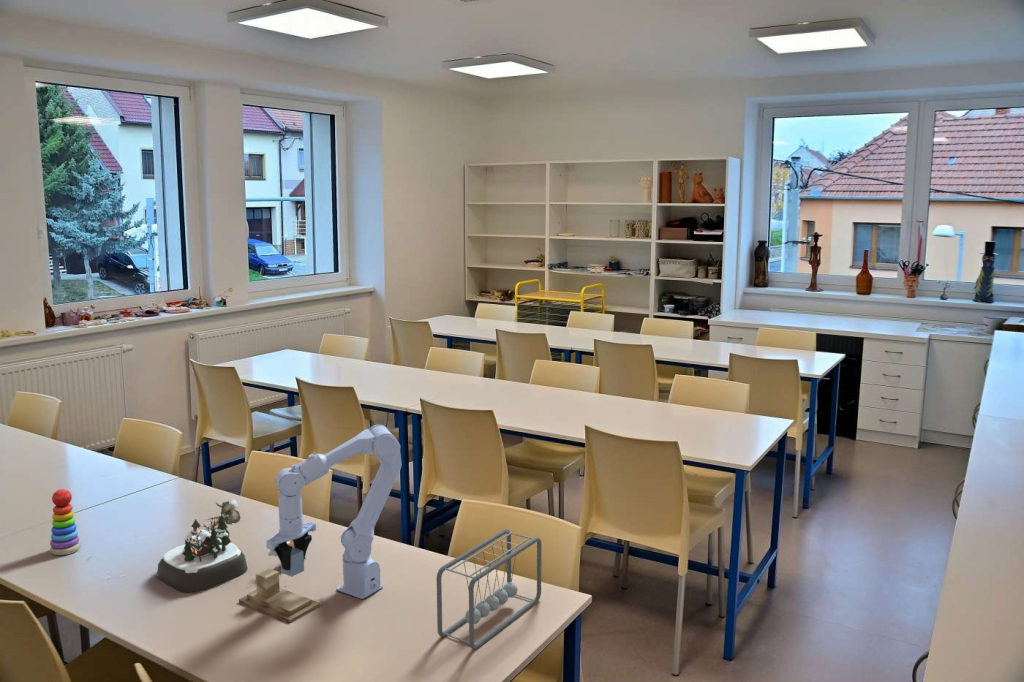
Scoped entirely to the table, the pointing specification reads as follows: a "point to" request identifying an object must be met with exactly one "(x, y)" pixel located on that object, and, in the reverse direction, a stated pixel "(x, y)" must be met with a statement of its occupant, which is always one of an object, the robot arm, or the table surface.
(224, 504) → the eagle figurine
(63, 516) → the stacking toy
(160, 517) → the table surface
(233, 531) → the table surface
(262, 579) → the brass block
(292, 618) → the plinth
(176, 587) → the miniature diorama
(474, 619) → the newton's cradle
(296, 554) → the slate block
